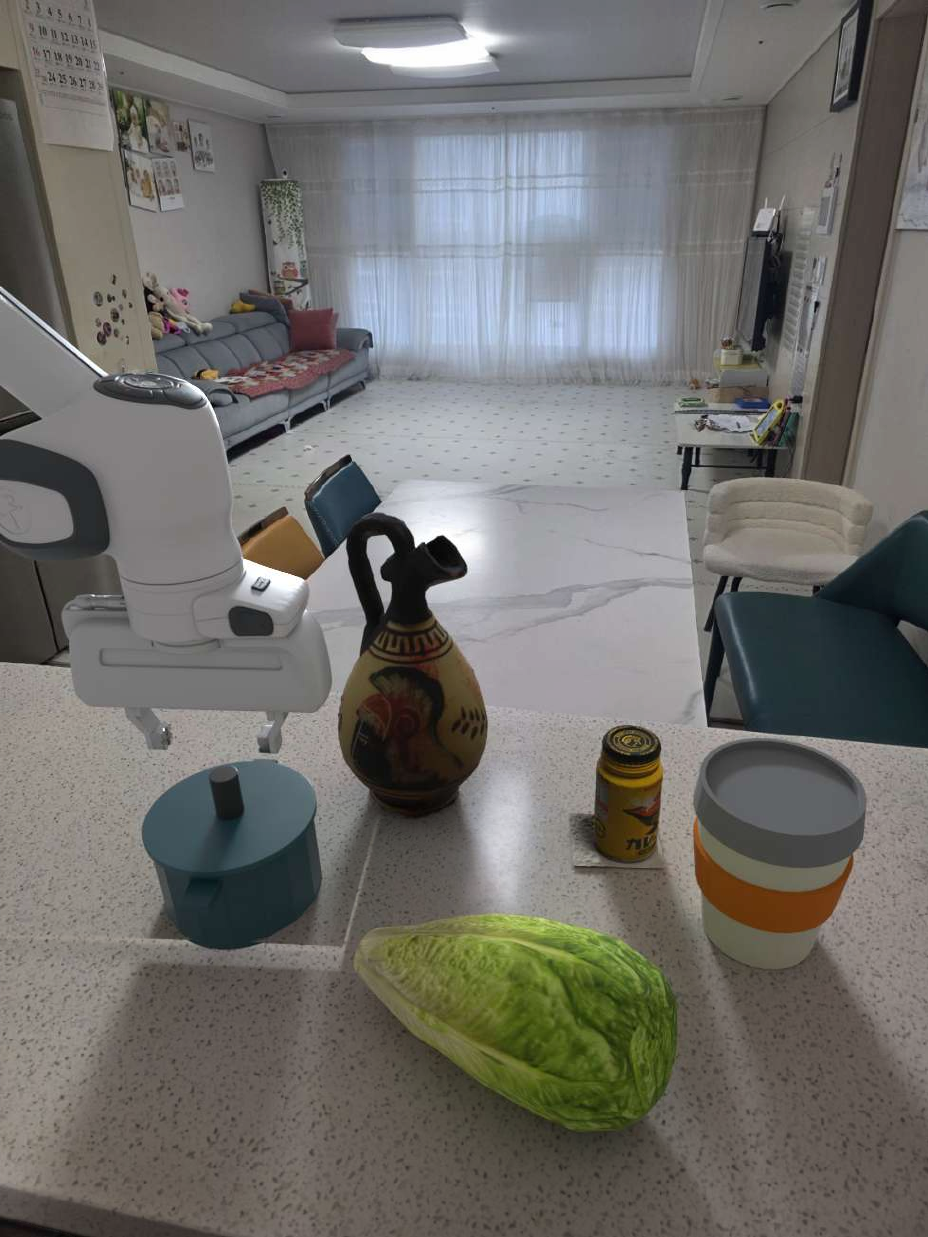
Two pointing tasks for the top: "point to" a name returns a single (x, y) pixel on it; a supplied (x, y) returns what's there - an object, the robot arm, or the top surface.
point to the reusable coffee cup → (773, 846)
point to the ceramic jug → (409, 679)
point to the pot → (244, 897)
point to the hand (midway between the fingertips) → (215, 747)
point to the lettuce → (533, 1011)
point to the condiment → (623, 804)
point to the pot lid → (229, 819)
